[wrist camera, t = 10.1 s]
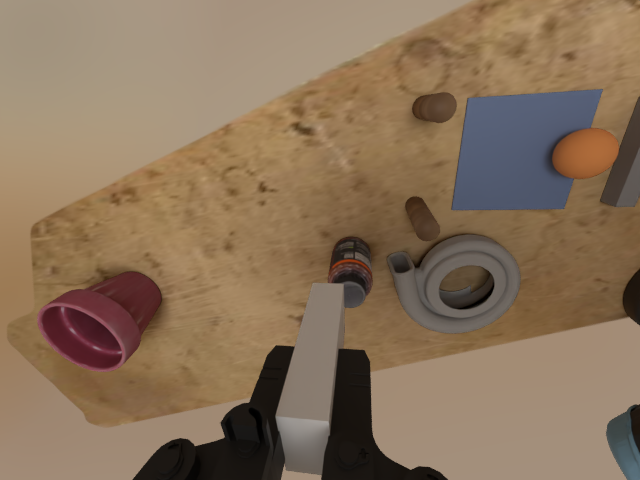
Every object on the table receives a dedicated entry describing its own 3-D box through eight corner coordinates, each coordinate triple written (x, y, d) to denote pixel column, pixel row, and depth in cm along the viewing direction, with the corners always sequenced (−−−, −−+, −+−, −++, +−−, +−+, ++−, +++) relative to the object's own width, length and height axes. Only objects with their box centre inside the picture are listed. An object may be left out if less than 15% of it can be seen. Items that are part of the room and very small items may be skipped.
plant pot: (112, 312, 58) (50, 362, 47) (97, 253, 52) (21, 295, 40) (177, 325, 57) (131, 381, 46) (170, 267, 51) (115, 314, 39)
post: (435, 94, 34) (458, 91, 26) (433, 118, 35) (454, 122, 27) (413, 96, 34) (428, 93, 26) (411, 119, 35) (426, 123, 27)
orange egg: (611, 132, 27) (548, 130, 32) (592, 187, 30) (536, 178, 34) (638, 125, 29) (575, 124, 34) (618, 177, 32) (562, 170, 36)
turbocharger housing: (505, 300, 46) (499, 217, 40) (530, 328, 40) (527, 235, 34) (402, 320, 49) (383, 246, 44) (410, 349, 43) (390, 268, 38)
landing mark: (601, 89, 31) (602, 89, 31) (563, 208, 37) (563, 208, 37) (467, 98, 33) (468, 98, 33) (451, 209, 39) (451, 210, 39)
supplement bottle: (346, 274, 46) (342, 321, 36) (325, 247, 45) (314, 289, 35) (378, 257, 44) (382, 302, 34) (357, 228, 43) (355, 266, 32)
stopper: (660, 95, 31) (683, 94, 29) (617, 200, 36) (634, 206, 34) (639, 96, 31) (660, 96, 29) (600, 200, 36) (615, 206, 34)
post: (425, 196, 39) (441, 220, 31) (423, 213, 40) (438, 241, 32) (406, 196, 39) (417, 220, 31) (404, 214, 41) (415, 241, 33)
